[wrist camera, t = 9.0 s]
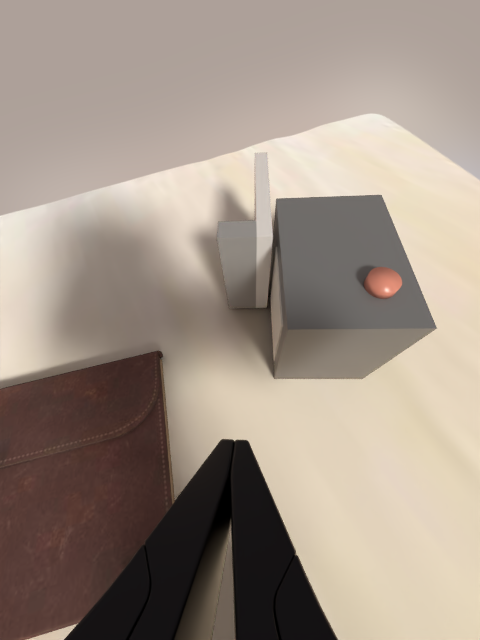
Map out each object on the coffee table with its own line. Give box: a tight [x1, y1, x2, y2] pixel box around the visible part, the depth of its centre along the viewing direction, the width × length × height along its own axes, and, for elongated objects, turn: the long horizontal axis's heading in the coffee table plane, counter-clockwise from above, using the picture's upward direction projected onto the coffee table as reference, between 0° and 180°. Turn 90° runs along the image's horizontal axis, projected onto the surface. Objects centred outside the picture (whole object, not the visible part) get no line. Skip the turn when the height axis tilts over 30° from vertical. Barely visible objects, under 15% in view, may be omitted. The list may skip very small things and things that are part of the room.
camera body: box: [269, 195, 437, 379], centre depth 18 cm, size 11×7×10 cm, turn 179°
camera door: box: [217, 152, 273, 308], centre depth 21 cm, size 10×4×8 cm, turn 179°
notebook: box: [0, 351, 175, 640], centre depth 17 cm, size 15×20×2 cm
